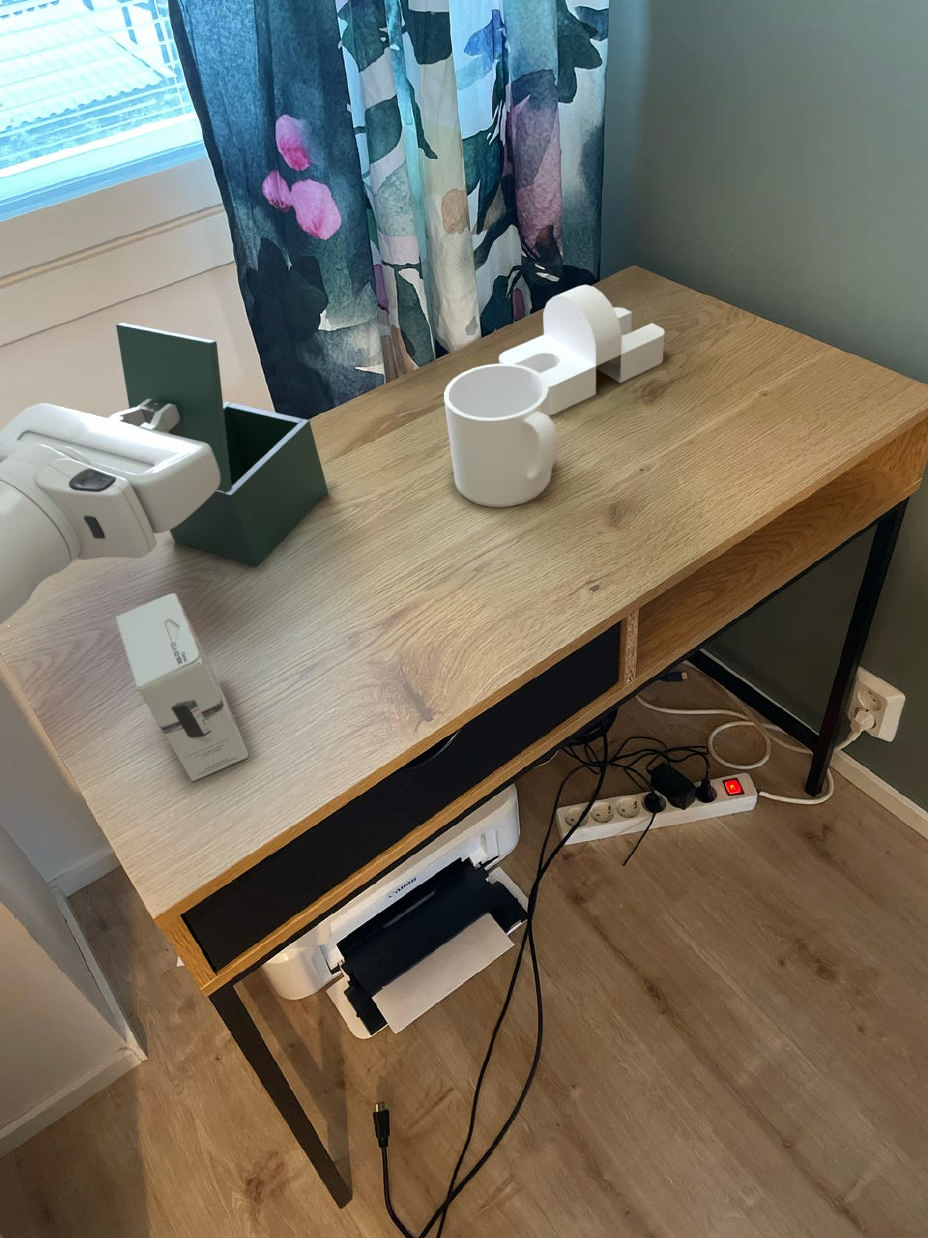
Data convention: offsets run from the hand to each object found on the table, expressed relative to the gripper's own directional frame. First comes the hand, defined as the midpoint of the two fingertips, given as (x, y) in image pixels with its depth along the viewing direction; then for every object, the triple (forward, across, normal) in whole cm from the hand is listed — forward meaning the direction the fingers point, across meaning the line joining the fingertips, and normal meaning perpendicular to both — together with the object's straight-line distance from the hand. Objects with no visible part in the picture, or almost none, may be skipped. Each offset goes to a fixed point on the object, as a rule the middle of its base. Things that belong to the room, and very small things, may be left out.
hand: (165, 408), depth 78 cm
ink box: (-19, +14, -16) cm, 29 cm away
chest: (+5, 0, -16) cm, 17 cm away
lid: (+1, 0, 0) cm, 1 cm away
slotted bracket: (+41, +22, -16) cm, 49 cm away
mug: (+19, +23, -16) cm, 34 cm away
